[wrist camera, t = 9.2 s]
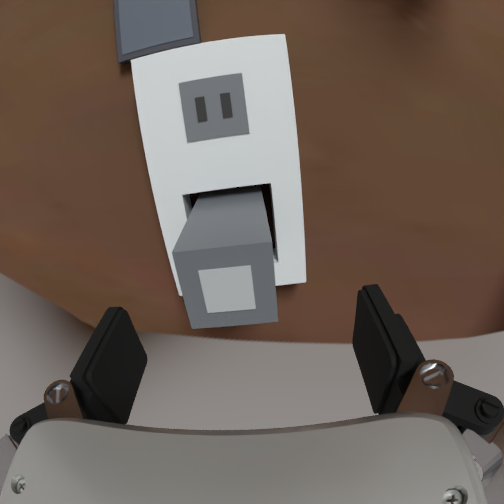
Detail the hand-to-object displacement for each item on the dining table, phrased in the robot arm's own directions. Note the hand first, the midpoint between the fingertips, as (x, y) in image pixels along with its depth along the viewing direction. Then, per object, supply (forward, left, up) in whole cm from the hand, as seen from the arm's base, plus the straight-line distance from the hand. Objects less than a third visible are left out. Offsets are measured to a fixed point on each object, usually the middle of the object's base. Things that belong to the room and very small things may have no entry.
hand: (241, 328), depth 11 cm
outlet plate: (+1, -4, -13) cm, 14 cm away
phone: (+4, -19, -13) cm, 23 cm away
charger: (+1, 0, -13) cm, 13 cm away
